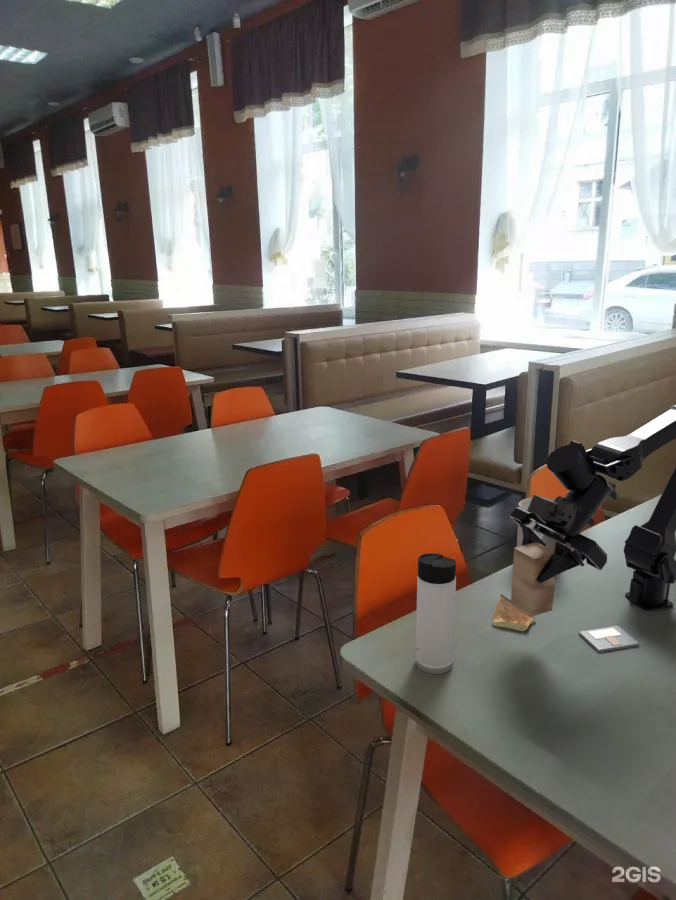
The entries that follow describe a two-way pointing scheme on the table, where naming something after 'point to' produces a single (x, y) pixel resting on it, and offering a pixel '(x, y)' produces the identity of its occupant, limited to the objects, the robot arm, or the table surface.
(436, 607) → the travel mug
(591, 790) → the table surface
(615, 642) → the card
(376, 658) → the table surface
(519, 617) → the shard
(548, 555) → the walnut block
